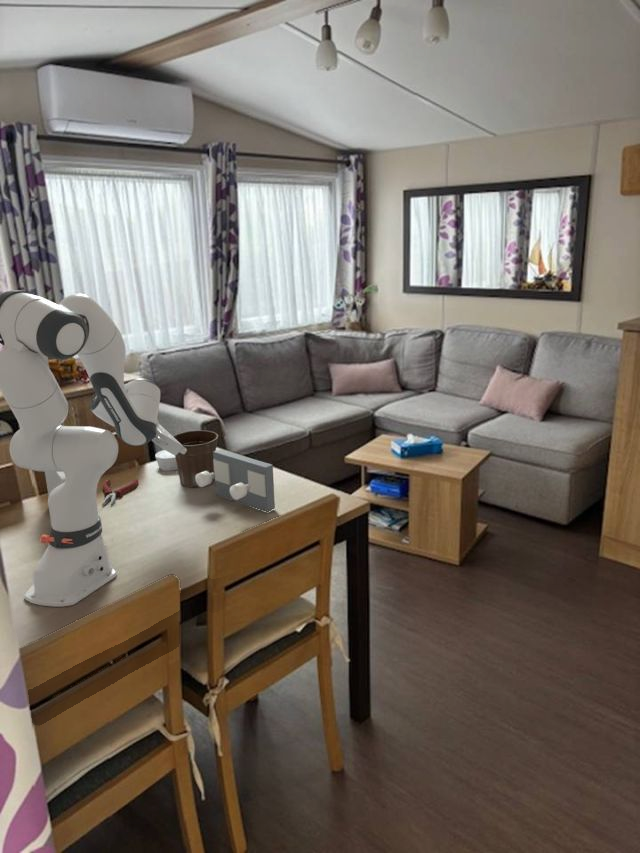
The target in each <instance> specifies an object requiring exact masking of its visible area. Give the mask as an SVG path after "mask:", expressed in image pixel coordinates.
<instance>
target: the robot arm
mask: <svg viewBox="0 0 640 853" xmlns="http://www.w3.org/2000/svg"><path fill="white" fill-rule="evenodd" d="M0 344H1V345H3V347H2V349H1V350H0V392H1V394H2V396H3V398H4V400H5V402H6V404H8V407H9V408H10V410H11V412H12V413H13V415H14V417H15V419H16V420H17V423H18V426H19V429H18V430H17V431H16V432H14V434H13V436H12V437H11V439H10V443H9V446H8V447H9V454H10V458H11V460H12V462H13V463H14V464H15V465H16V466H17V467H19V468H22V469H26V470H31V471H35V472H45V471H52V472H64V474H65V482H64V483H62V484H61V485H59V486H57V487H56V488H54V489H53V490H52V492H51V493H50V495H48V499H47V506H48V512H49V520H50V526H49V532H48V533H49V534H41V536H40V540H39V541H40V543H42V544H47V545H48V546H47V548H46V550H44V553H43V554H42V557H41V558H40V560H39V562H38V564H37V565H36V567H35V569H34V571H33V576H32V577H33V584H32V585H31V587H29V589H28V590H27V591H26V592H25V593H24V594H23V596H24V599H25V601H26V602H28V601H29V602H28V603H31V604H33V605H38V606H45V607H69V606H73V605H75V604H77V603H79V602H80V601H81V600H83V599H85V598H86V597H88V596H90V595H91V594H92V593H94V592H95V591H96V590H98V589H100V588H101V587H103V586H104V585H105V584H107V583H108V582H110V581H112V580H113V579H114V578H116V577H117V571H116V570H115V569H114V567H113V564H112V561H111V557H110V553H109V548H108V545H107V544H106V541H105V539H104V537H103V534H102V533H103V523H102V521H101V520H102V519H101V517H100V516H99V511H98V510H99V509H98V501H97V500H98V498H97V497H98V496H97V489H98V486H99V485H98V484H99V482H100V480H101V478H102V476H103V475H104V473H106V472H107V471H108V470H109V469H110V468H111V467H112V466H113V465H114V464H115V463H116V461H117V459H118V454H119V442H118V440H117V439H116V436H115V435H114V433H113V432H112V431H111V430H109V429H104V428H101V427H96V426H85V425H84V426H83V425H81V426H80V425H79V426H78V425H75V426H73V425H63V423H64V421H65V420H66V419H67V416H68V413H69V402H68V400H67V398H66V397H65V394H64V393H63V391H62V389H61V387H60V385H59V383H58V381H57V379H56V378H55V375H54V373H53V372H52V371H51V369H50V364H49V358H50V359H53V360H58V361H59V360H60V361H64V360H69V359H72V358H73V357H75V356H78V358H79V360H80V362H81V363H82V365H83V368H84V369H85V370H86V373H87V376H88V378H89V380H90V384H91V386H92V388H93V391H94V394H93V396H92V398H91V402H90V411H91V412H92V413H93V414H94V415H95V416H96V417H97V418H99V419H100V420H102V421H103V422H105V423H106V424H108V425H109V426H112V427H114V432H115V434H116V435H117V437H118V438H119V439H120V440H121V441H122V442H123V443H125V444H127V445H129V446H132V447H142V446H145V445H146V444H148V443H150V442H151V441H152V442H153V443H155V445H157V446H158V447H160V448H161V449H162V450H166V451H168V452H169V453H171V454H173V455H177V454H178V453H179V452H180V453H182V454H185V453H186V451H187V449H186V448H185V447H183V446H182V444H181V443H179V442H178V441H177V440H176V439H175V438H174V437H173V436H174V435H172V433H171V432H169V431H168V430H167V429H166V428H165V427H163V426H162V425H161V424H160V423H159V420H158V415H159V409H160V403H161V402H160V401H161V389H160V387H159V386H158V385H157V384H156V383H155V382H153V380H152V381H151V380H150V379H147V378H143V377H135V378H133V379H131V380H129V381H128V382H126V383H125V378H124V377H125V365H126V364H125V361H126V354H127V353H126V352H127V351H126V350H127V349H126V344H125V340H124V338H123V335H122V333H121V331H120V330H119V328H118V326H117V325H116V323H115V322H114V320H113V319H112V318H111V317H110V315H109V314H108V313H107V312H106V311H105V310H104V309H103V307H101V305H100V304H99V303H97V301H95V300H94V299H93V298H92V297H90V296H89V295H86V294H85V293H73V294H69V295H68V296H66V297H64V298H63V299H62V300H60V302H58V304H57V303H55V302H54V301H51V300H50V299H47V298H45V297H42V296H39V295H35V294H32V293H31V292H28V291H25V290H18V289H16V290H15V289H14V290H6V291H4V292H2V293H0Z"/></svg>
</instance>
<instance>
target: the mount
mask: <svg viewBox="0 0 640 853" xmlns="http://www.w3.org/2000/svg"><path fill="white" fill-rule="evenodd" d="M213 456H214V460H213V463H214V474H215V481H214V483H215V494H216V495H217V496H218V497H219V496H220V497H222V498H225V499H227V500H230V499H231V500H230V501H232V500H233V502H235V501H236V502H235V503H238V502H239V503H238V504H241V503H242V504H241V505H243V504H245V505H244V506H246V505H248V506H247V507H249V506H251V507H250V508H252V507H254V508H257V509H260V510H263V511H266V512H269V511H271V510H272V509H274V508H275V505H276V503H275V485H274V484H275V483H274V480H275V479H274V465H273V464H272V463H268V462H265V461H261V460H258V459H254V458H251V457H248V456H244V455H241V454H237V453H235V452H230V451H227V450H224V449H221V448H220V449H216V451H214V452H213ZM240 482H241V483H243V484H244V485H246V484H249V485H250V490H249V491H247V495H246V496H245V497H242V498H240V499H238V500H235V499H233V498H232V496H231V494H230V487H231V486H233V485H235V484H237V483H240ZM254 508H253V509H254ZM257 509H256V510H257ZM275 509H276V508H275ZM260 510H259V511H260Z"/></svg>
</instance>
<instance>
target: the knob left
mask: <svg viewBox="0 0 640 853" xmlns="http://www.w3.org/2000/svg"><path fill="white" fill-rule="evenodd" d="M214 478H215V474H214V473H213V472H212V473H209V472H208V471H204V472H201V473H198V474H196V476H195V480H196V483H197V485H198V486H200V487H199V488H203V487H206V485H207V486H209V485H211V484H212V483H211V482H212V479H214ZM198 486H197V487H198Z"/></svg>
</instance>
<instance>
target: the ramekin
mask: <svg viewBox="0 0 640 853" xmlns="http://www.w3.org/2000/svg"><path fill="white" fill-rule="evenodd" d="M154 456H155V457H154V458H155V459H156V463H157V465H158V467H159V469H160V470H162V471H176V470H177V471H178V467H177V462H176V458H175V455H173V454H171V453H169V452H168V451H166V450H164V449H162V450H160V451H158V452H156V453H155V455H154Z"/></svg>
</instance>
